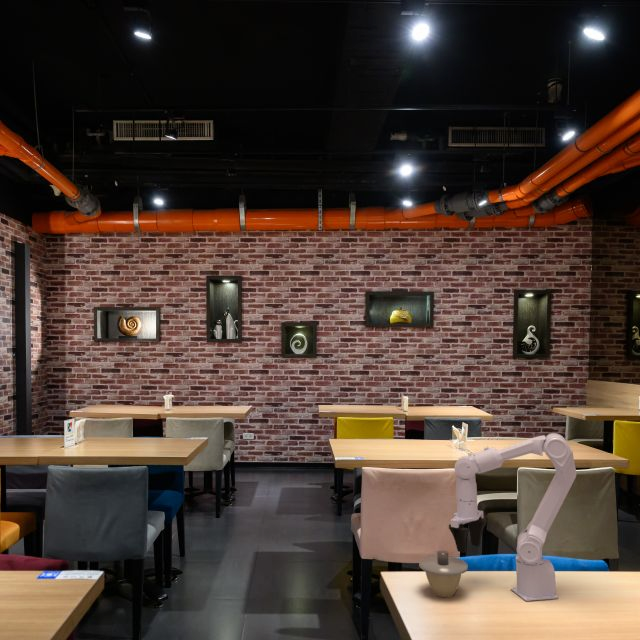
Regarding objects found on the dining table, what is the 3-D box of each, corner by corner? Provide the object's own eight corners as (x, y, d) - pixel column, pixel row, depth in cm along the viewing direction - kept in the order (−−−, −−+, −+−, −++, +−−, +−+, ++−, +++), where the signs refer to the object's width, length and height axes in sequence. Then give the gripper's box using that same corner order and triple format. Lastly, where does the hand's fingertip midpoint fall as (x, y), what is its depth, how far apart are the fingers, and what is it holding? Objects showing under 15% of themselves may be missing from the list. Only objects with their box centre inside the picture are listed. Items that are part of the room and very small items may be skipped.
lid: (455, 557, 153) (455, 543, 154) (475, 573, 141) (475, 558, 141) (412, 560, 151) (412, 546, 152) (429, 577, 138) (428, 562, 139)
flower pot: (463, 602, 139) (462, 574, 140) (425, 599, 141) (424, 571, 142) (461, 587, 149) (460, 561, 150) (425, 585, 151) (424, 559, 152)
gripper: (467, 493, 160) (469, 539, 158) (440, 501, 150) (442, 551, 148) (489, 496, 155) (491, 545, 153) (462, 505, 145) (464, 557, 143)
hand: (468, 548), depth 151 cm, fingers open, 7 cm apart
